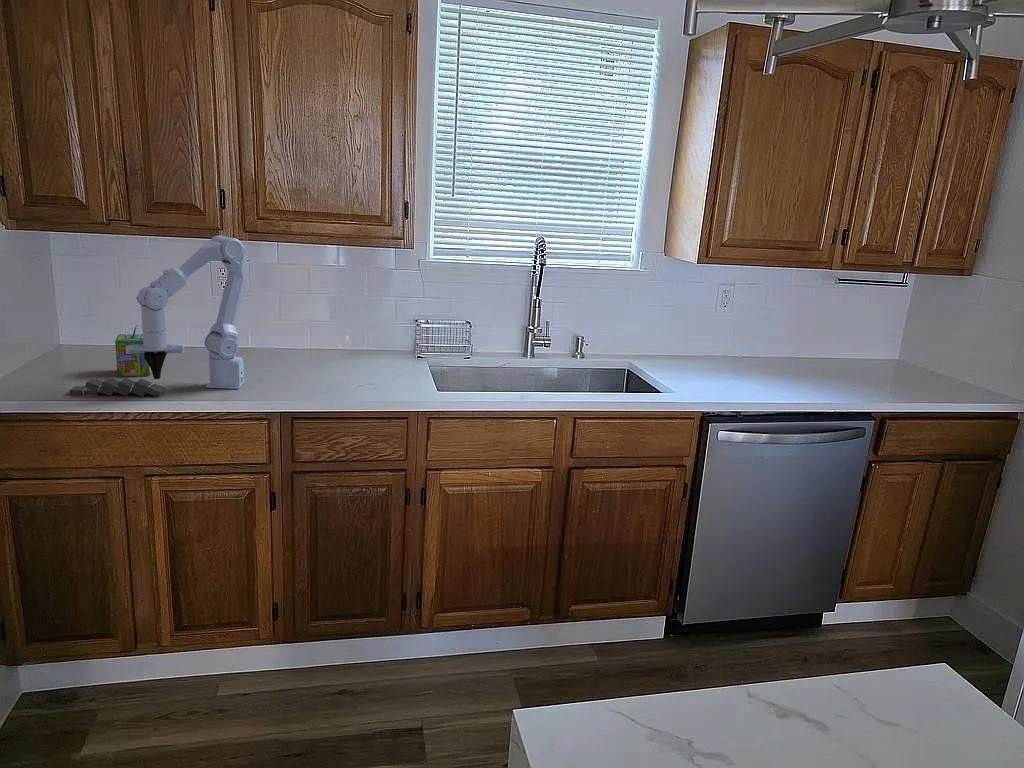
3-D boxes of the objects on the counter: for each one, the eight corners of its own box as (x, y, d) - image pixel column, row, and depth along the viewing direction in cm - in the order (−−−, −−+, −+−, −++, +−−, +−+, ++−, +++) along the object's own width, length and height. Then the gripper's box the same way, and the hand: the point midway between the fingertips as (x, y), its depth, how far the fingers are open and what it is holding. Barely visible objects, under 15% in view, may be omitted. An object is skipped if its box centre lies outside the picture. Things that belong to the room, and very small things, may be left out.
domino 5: (165, 388, 206) (141, 378, 205) (160, 392, 202) (135, 382, 200) (163, 393, 207) (139, 383, 205) (158, 397, 202) (133, 387, 201)
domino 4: (150, 387, 206) (125, 377, 204) (144, 391, 202) (119, 381, 200) (148, 392, 206) (123, 382, 204) (142, 396, 202) (117, 386, 200)
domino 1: (103, 386, 204) (76, 385, 203) (96, 390, 200) (69, 390, 199) (103, 392, 204) (76, 391, 203) (97, 396, 200) (69, 395, 199)
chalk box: (120, 369, 227) (117, 323, 223) (153, 369, 230) (150, 323, 226) (116, 377, 219) (112, 329, 215) (150, 376, 222) (147, 329, 218)
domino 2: (118, 386, 204) (92, 377, 203) (112, 390, 200) (86, 381, 199) (116, 391, 205) (90, 382, 203) (111, 396, 201) (84, 387, 199)
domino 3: (134, 387, 205) (109, 377, 204) (129, 391, 201) (103, 381, 199) (132, 392, 205) (107, 382, 204) (127, 396, 201) (101, 386, 200)
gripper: (184, 328, 205) (187, 374, 209) (128, 327, 201) (131, 374, 205) (181, 333, 199) (183, 380, 202) (122, 332, 195) (126, 381, 198)
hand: (157, 378), depth 203 cm, fingers closed
